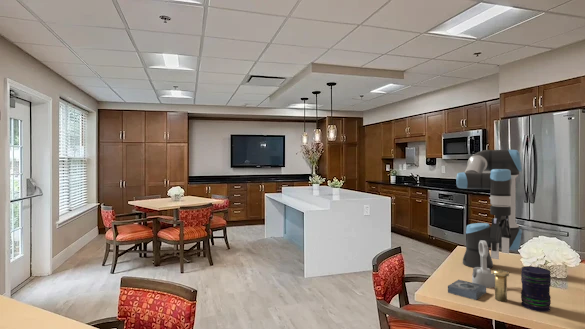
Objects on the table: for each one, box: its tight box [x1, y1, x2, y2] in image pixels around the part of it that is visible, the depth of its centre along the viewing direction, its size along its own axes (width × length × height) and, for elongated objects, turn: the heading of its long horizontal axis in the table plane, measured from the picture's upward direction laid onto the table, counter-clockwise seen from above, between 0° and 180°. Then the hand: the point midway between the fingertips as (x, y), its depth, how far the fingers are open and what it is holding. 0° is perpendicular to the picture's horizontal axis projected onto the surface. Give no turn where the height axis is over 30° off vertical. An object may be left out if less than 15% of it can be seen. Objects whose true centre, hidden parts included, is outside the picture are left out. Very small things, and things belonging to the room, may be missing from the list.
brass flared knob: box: [492, 268, 510, 303], centre depth 151 cm, size 6×6×12 cm
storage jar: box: [520, 265, 552, 313], centre depth 143 cm, size 10×10×15 cm
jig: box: [447, 279, 487, 301], centre depth 159 cm, size 12×12×3 cm
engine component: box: [471, 240, 495, 289], centre depth 170 cm, size 11×20×10 cm
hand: (500, 255), depth 151 cm, fingers open, 13 cm apart
